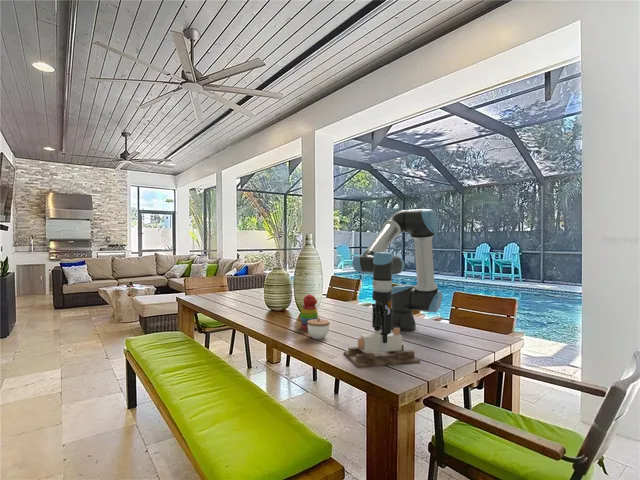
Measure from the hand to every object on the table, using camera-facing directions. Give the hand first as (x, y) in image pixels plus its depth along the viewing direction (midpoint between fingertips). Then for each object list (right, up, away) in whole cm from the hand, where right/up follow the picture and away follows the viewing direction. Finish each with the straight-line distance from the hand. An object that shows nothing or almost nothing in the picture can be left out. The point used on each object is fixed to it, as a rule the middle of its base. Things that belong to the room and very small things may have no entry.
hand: (380, 348), depth 141 cm
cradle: (0, -4, 0) cm, 4 cm away
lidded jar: (-25, -4, +28) cm, 38 cm away
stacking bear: (-30, -4, +46) cm, 55 cm away
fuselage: (0, -1, 0) cm, 1 cm away
